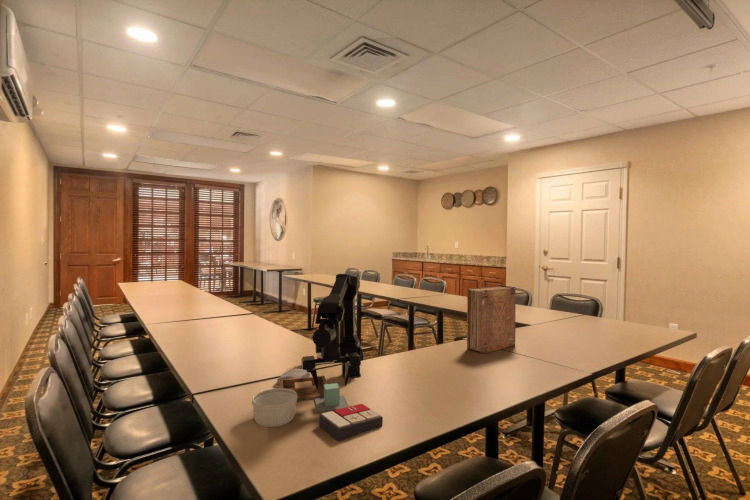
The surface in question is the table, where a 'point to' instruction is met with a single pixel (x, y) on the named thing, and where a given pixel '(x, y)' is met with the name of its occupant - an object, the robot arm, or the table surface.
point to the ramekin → (274, 407)
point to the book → (490, 318)
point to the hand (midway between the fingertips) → (331, 387)
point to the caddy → (305, 387)
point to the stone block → (293, 374)
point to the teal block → (331, 394)
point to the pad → (323, 408)
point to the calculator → (349, 421)
